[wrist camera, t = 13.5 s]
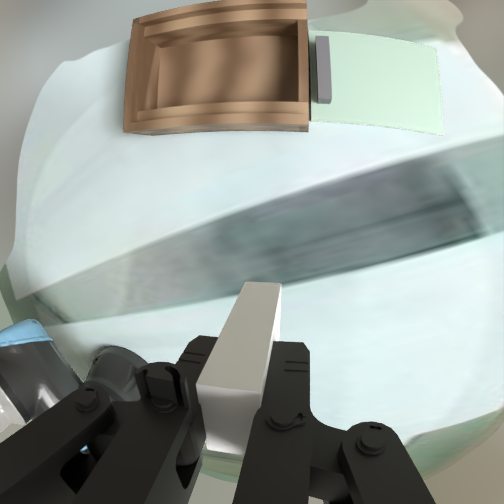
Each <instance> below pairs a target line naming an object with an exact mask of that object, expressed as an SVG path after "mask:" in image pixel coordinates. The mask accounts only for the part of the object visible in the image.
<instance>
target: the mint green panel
mask: <svg viewBox="0 0 504 504" xmlns="http://www.w3.org/2000/svg"><path fill="white" fill-rule="evenodd" d="M308 36H309V55H310V80H311V121H313V122H333V123H348V124H360V125H371V126H380V127H389V128H397V129H404V130H411V131H417V132H423V133H429V134H435V135H440V136H443V111H442V96H441V84H440V75H439V67H438V59H437V53H436V48H435V47H431V46H427V45H423V44H418V43H414V42H409V41H404V40H399V39H393V38H387V37H381V36H374V35H366V34H357V33H347V32H334V31H313V30H308Z"/></svg>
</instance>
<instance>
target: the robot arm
mask: <svg viewBox="0 0 504 504" xmlns="http://www.w3.org/2000/svg"><path fill="white" fill-rule="evenodd" d="M280 304H281V283H264V282H245V284H244V286H243V288H242V290H241V292H240V294H239V296H238V298H237V300H236V302H235V304H234V306H233V309H232V311H231V313H230V315H229V317H228V319H227V321H226V323H225V325H224V327H223V329H222V331H221V333H220V335H219V337H210V336H201V335H199V336H198V337H196V338H195V339H193V340H192V341H191V342H189V343H188V345H187V347H186V348H185V350H184V351H183V353H182V355H181V356H180V358H179V361H177V363H176V364H172V363H169V362H155V363H149V364H148V363H147V362H146V361H144V360H143V359H142V358H141V357H139V356H138V355H136V354H135V353H133V352H131V351H129V350H127V349H124V348H121V347H114V346H112V347H107V348H104V349H103V350H102V351H101V352H100V353H99V354H98V355H97V356H96V357H95V359H94V361H93V363H92V366H91V368H90V370H89V373H88V376H87V378H86V381H85V382H84V383H82V381H81V380H80V379H79V377H78V376H77V375H76V373H75V372H74V371H73V369H72V368H71V367H70V365H69V364H68V363H67V361H66V360H65V358H64V357H63V356H62V354H61V353H60V351H59V350H58V348H57V346H56V345H55V343H54V342H53V341H54V340H53V339H52V338H51V337H50V336H49V335H48V333H47V332H46V331H45V329H44V328H43V326H42V325H41V323H40V322H39V321H37V320H35V319H26V320H23V321H21V322H18V323H16V324H14V325H11V326H9V327H7V328H5V329H3V330H1V331H0V433H1V432H2V431H3V430H4V429H5V428H6V427H7V426H8V425H9V424H12V423H15V424H20V425H25V424H26V423H27V422H28V421H29V420H30V419H32V421H31V422H30V423H28V424H27V425H26V426H24V427H23V428H21V429H20V430H18V431H17V432H16V433H14V434H13V435H11V436H10V437H9V438H7V439H6V440H4V441H3V442H1V443H0V504H188V501H189V499H190V496H191V493H192V491H193V488H194V485H195V482H196V480H197V477H198V474H199V471H200V469H201V466H202V460H203V457H202V453H201V451H202V448H203V445H204V443H205V440H206V445H207V449H209V450H214V451H220V452H227V453H233V454H241V455H245V456H244V460H243V464H242V468H241V472H240V476H239V480H238V484H237V488H236V492H235V495H234V500H233V503H232V504H308V498H309V496H311V497H315V498H318V499H322V500H323V502H324V504H436V503H435V501H434V499H433V498H432V496H431V494H430V492H429V490H428V488H427V486H426V485H425V483H424V481H423V479H422V477H421V476H420V474H419V472H418V470H417V468H416V467H415V465H414V463H413V461H412V460H411V458H410V456H409V454H408V453H407V451H406V449H405V447H404V446H403V444H402V442H401V440H400V439H399V437H398V435H397V434H396V433H395V432H394V431H393V430H392V428H390V427H388V426H386V425H384V424H382V423H377V422H361V423H359V424H356V425H354V426H352V427H351V428H350V429H348V430H347V431H345V430H341V429H337V428H333V427H330V426H327V425H325V424H323V423H321V422H320V421H318V420H317V419H316V418H315V417H314V416H313V414H312V412H311V410H310V351H309V350H308V349H307V347H306V346H305V344H304V343H303V342H283V341H279V330H280Z"/></svg>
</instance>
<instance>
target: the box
mask: <svg viewBox="0 0 504 504" xmlns="http://www.w3.org/2000/svg"><path fill="white" fill-rule="evenodd" d="M306 6H307V5H306V0H221V1H213V2H207V3H201V4H195V5H189V6H184V7H179V8H174V9H170V10H166V11H161V12H157V13H154V14H150V15H146V16H143V17H139V18H136V19H133V24H132V31H131V38H130V46H129V54H128V64H127V74H126V86H125V102H124V127H123V133H134V134H144V135H153V136H154V135H165V134H177V133H192V132H212V131H294V132H308V118H309V69H308V27H307V7H306Z"/></svg>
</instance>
